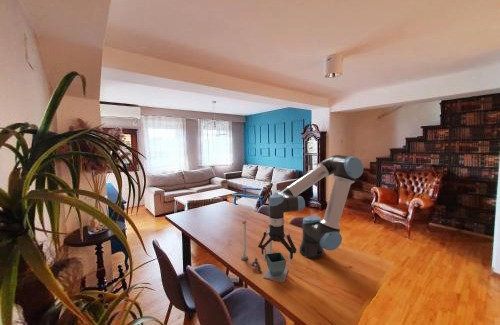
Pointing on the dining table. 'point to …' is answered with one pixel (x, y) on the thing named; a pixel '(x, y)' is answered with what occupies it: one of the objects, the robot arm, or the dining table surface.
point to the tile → (276, 276)
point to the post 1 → (244, 241)
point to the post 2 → (269, 244)
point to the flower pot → (276, 263)
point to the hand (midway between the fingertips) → (277, 262)
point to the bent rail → (256, 265)
